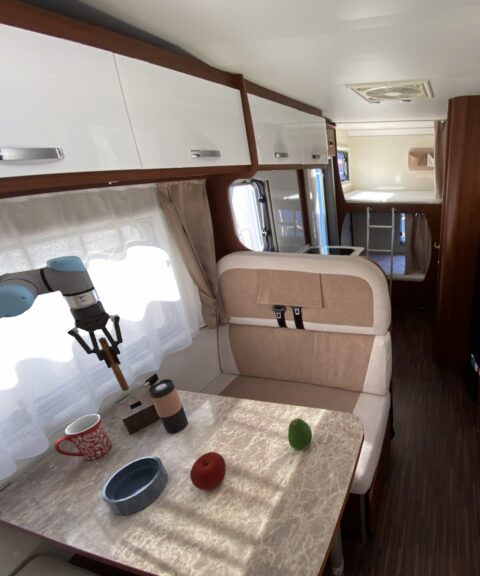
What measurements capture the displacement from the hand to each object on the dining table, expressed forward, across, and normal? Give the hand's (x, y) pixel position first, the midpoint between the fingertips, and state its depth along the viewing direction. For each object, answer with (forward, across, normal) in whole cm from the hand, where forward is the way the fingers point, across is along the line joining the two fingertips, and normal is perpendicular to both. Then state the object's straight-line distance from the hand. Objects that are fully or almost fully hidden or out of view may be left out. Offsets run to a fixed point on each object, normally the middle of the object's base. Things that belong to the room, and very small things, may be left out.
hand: (113, 364), depth 105 cm
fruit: (+31, +35, -55) cm, 72 cm away
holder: (+31, +1, +6) cm, 31 cm away
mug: (+31, -15, +1) cm, 34 cm away
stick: (+11, 0, 0) cm, 11 cm away
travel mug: (+31, +9, -9) cm, 33 cm away
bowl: (+31, -7, -29) cm, 43 cm away
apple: (+31, +9, -44) cm, 54 cm away
